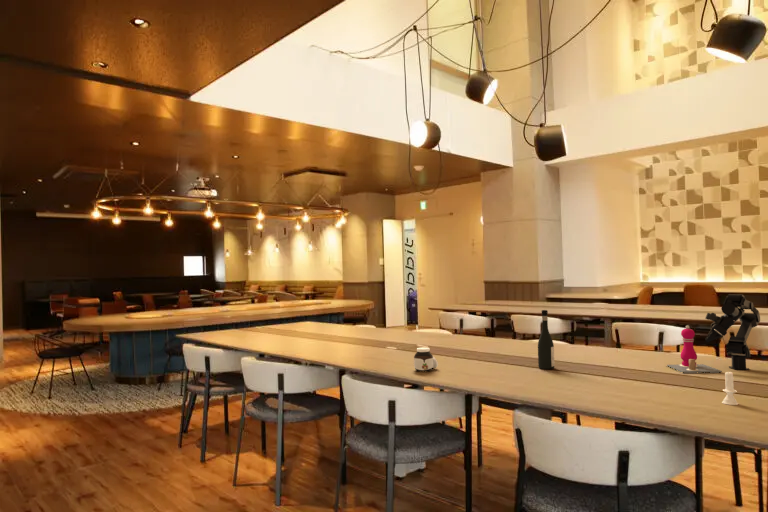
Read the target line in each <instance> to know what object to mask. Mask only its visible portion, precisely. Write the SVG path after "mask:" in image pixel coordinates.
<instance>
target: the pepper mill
mask: <svg viewBox="0 0 768 512" xmlns="http://www.w3.org/2000/svg"><path fill="white" fill-rule="evenodd" d="M690 327H691V326H690V325H688V324H687V325H685V328H684V329H682V330H681V333H680V335H681V337H682V341H681V342H682V343H683V347H682V349H681V352H680V359H681V360H682V361H681V364H682V365H683V366H688V367H689V359H695V361H697V360H698V355H697V352H696V349H695V348H694V341H695V339H694V338H695V335H696V333H695V331H694V330H693V329H691V328H690Z"/></svg>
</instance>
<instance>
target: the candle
mask: <svg viewBox="0 0 768 512" xmlns="http://www.w3.org/2000/svg"><path fill="white" fill-rule="evenodd" d="M724 380H725V381H724V382H725V386H724V387H725V388H724V389H722V391H723V392H724V393H726V396H724V398H723V400H722V401H721V403H722V404H724V405H728V406H729V405H730V406H737V405H739V402H738V401H737V399H736V398H735V396H734V394H735V393H737V392H738V391H737V390H736V389H735V388H734V380H735V378H734V374H733V372H732V371H726V372H724Z"/></svg>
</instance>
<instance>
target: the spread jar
mask: <svg viewBox="0 0 768 512" xmlns="http://www.w3.org/2000/svg"><path fill="white" fill-rule="evenodd" d="M430 350H431V349H430V347H427V346H426V347H422V346H421V347H417V348H416V353H414V356H413V367H414V369H415V371H417V370H418V371H429V372H431V371H432V370H433V369H432V368H435V369H437V367H438V366H439V362H438V360H437V358H436V357H435V356H434V355H433V354H432V353H431V351H430ZM430 370H431V371H430ZM418 371H417V372H418Z"/></svg>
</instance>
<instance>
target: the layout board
mask: <svg viewBox="0 0 768 512" xmlns="http://www.w3.org/2000/svg"><path fill="white" fill-rule="evenodd" d="M666 365H667V366H669V367H671V368H674V369H676V370H678V371H680V372H684V373H683V374H702V373H701V372H704V373H703V374H706V373H705V372H710V373H709V374H720V373H719V372H722V373H723V370H720V369H718V368H715V367H713V366H709V365H707V364H705V363H704V364H703V363H700V364H697V361H696V360H695V359H689V367H688V366H683V365H682V363H679V364H666ZM667 366H666V367H667ZM671 368H670V369H671ZM676 370H675V371H676ZM678 371H677V372H678ZM680 372H679V373H680ZM697 372H698V373H697Z"/></svg>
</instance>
